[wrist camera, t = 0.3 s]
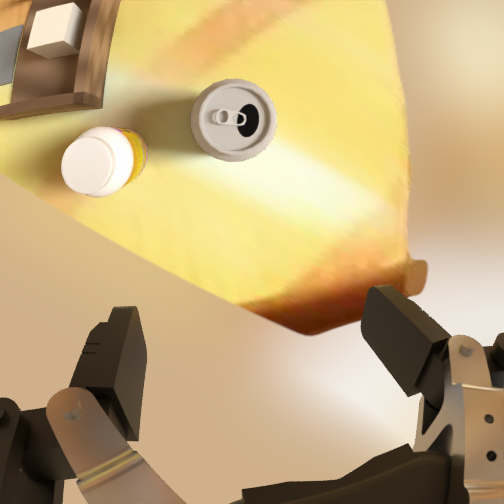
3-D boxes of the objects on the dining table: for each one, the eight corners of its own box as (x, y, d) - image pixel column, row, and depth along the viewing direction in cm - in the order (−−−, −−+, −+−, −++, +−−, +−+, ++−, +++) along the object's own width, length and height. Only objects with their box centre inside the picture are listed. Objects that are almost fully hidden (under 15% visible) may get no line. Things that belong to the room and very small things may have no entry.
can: (250, 159, 35) (275, 169, 24) (188, 152, 34) (184, 159, 23) (258, 99, 33) (288, 83, 22) (196, 92, 31) (196, 69, 20)
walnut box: (38, -8, 19) (18, -24, 13) (128, -26, 22) (118, -51, 16) (12, 119, 26) (-16, 119, 20) (102, 108, 29) (82, 102, 23)
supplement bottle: (146, 124, 31) (120, 117, 20) (151, 178, 34) (128, 199, 22) (94, 133, 30) (47, 134, 19) (100, 186, 33) (57, 211, 21)
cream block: (55, 25, 22) (36, 11, 17) (89, 19, 23) (73, 2, 18) (48, 59, 24) (26, 49, 19) (82, 53, 25) (63, 40, 20)
